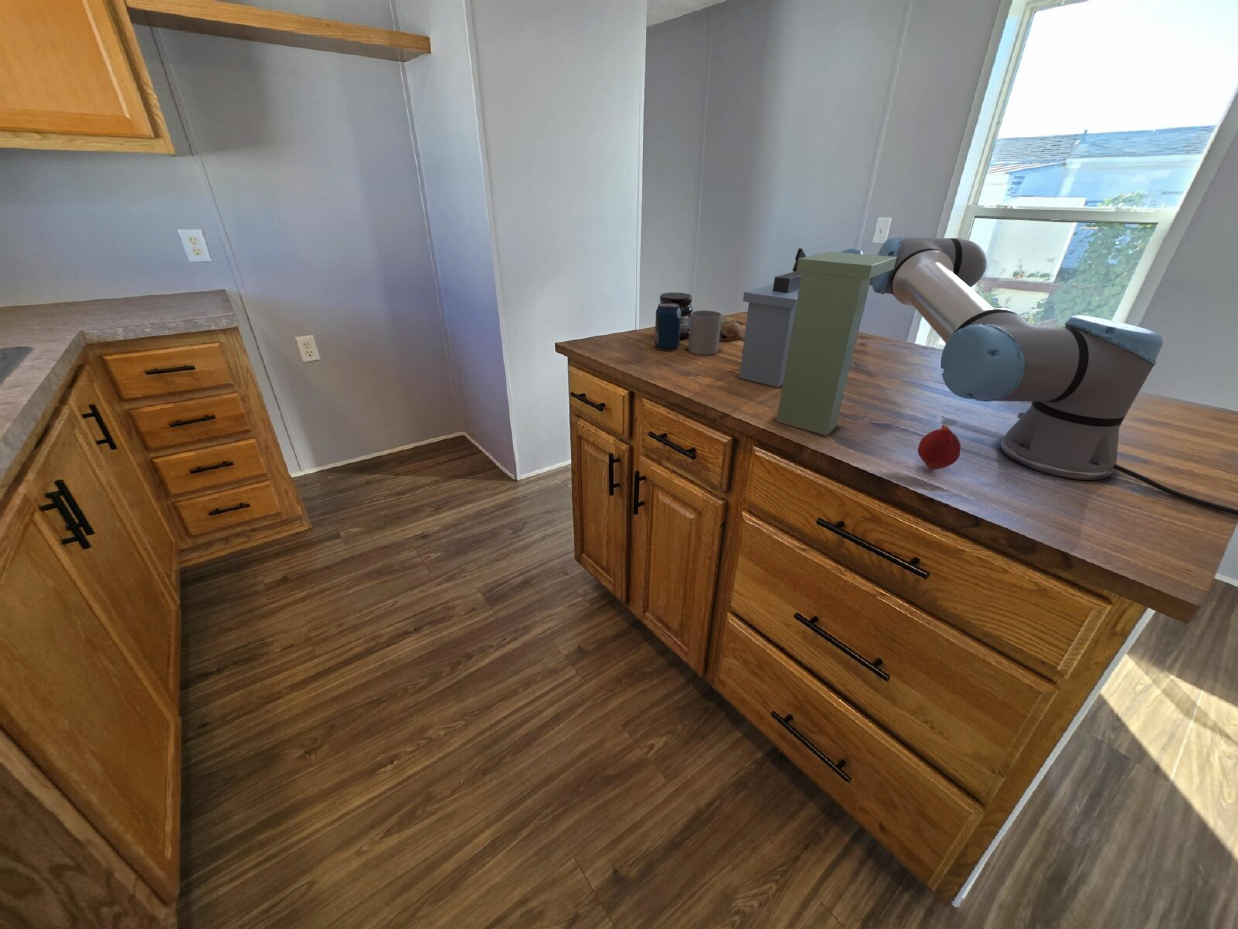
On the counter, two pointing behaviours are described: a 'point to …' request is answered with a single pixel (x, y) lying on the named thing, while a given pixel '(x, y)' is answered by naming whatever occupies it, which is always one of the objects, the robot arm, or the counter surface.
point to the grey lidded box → (767, 334)
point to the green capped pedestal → (825, 336)
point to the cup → (704, 332)
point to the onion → (939, 448)
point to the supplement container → (685, 307)
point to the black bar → (787, 282)
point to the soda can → (667, 326)
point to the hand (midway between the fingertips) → (825, 255)
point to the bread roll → (729, 329)
